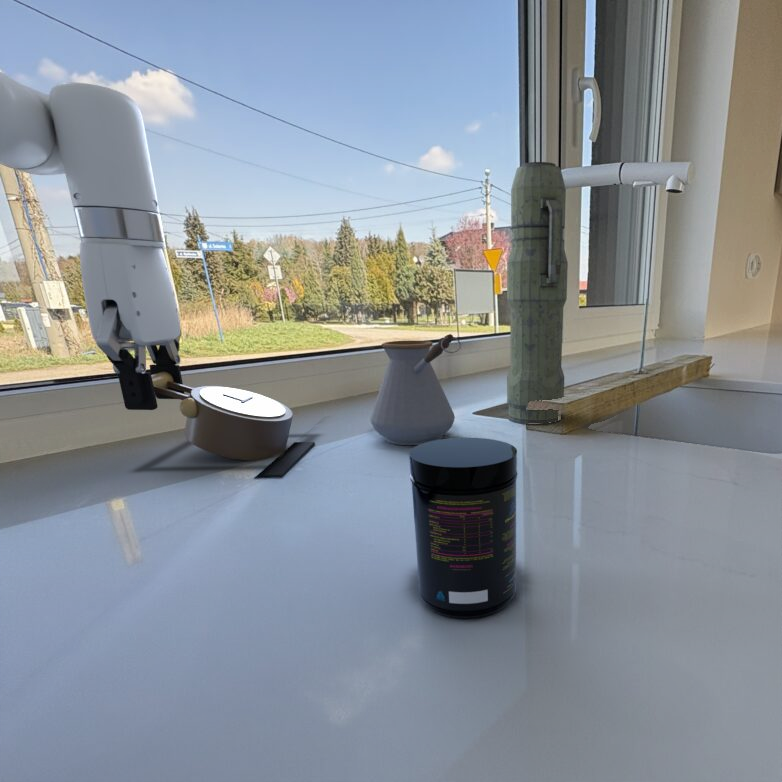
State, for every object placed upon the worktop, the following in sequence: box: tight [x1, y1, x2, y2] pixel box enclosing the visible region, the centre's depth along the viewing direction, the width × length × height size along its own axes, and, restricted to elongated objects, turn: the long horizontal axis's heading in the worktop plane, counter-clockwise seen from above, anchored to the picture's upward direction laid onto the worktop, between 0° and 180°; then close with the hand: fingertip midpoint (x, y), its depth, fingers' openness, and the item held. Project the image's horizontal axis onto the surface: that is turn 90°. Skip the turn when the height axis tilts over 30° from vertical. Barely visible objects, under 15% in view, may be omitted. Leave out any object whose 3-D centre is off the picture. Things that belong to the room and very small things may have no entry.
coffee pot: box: [369, 333, 462, 446], centre depth 72 cm, size 21×12×15 cm, turn 28°
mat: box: [253, 441, 316, 479], centre depth 69 cm, size 15×14×1 cm
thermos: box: [506, 161, 569, 425], centre depth 84 cm, size 9×12×35 cm
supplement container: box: [408, 437, 518, 620], centre depth 37 cm, size 7×7×10 cm
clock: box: [151, 372, 294, 462], centre depth 67 cm, size 16×11×5 cm
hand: (156, 402), depth 66 cm, fingers closed on clock, 5 cm apart
